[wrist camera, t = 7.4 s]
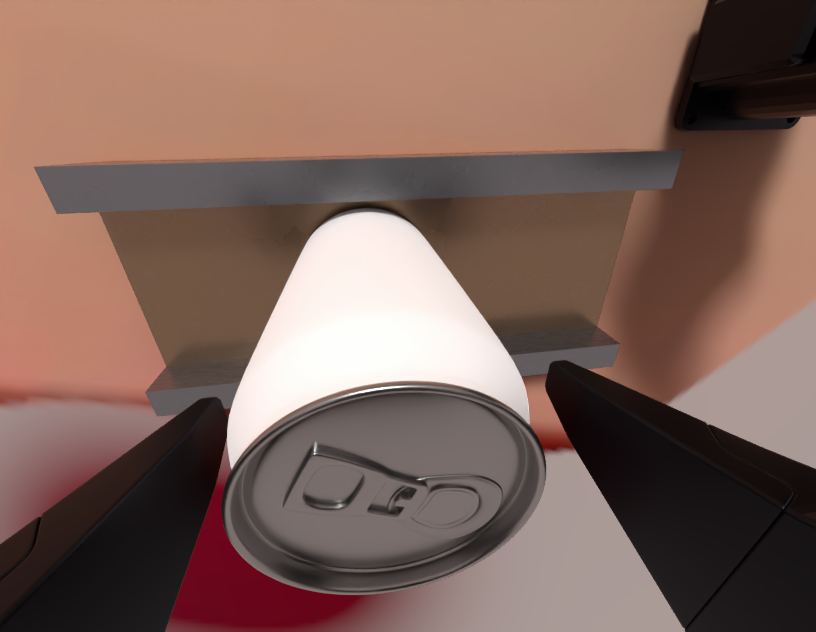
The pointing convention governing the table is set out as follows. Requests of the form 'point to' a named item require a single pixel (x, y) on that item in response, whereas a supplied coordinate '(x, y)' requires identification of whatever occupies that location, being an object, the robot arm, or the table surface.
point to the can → (377, 421)
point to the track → (353, 189)
